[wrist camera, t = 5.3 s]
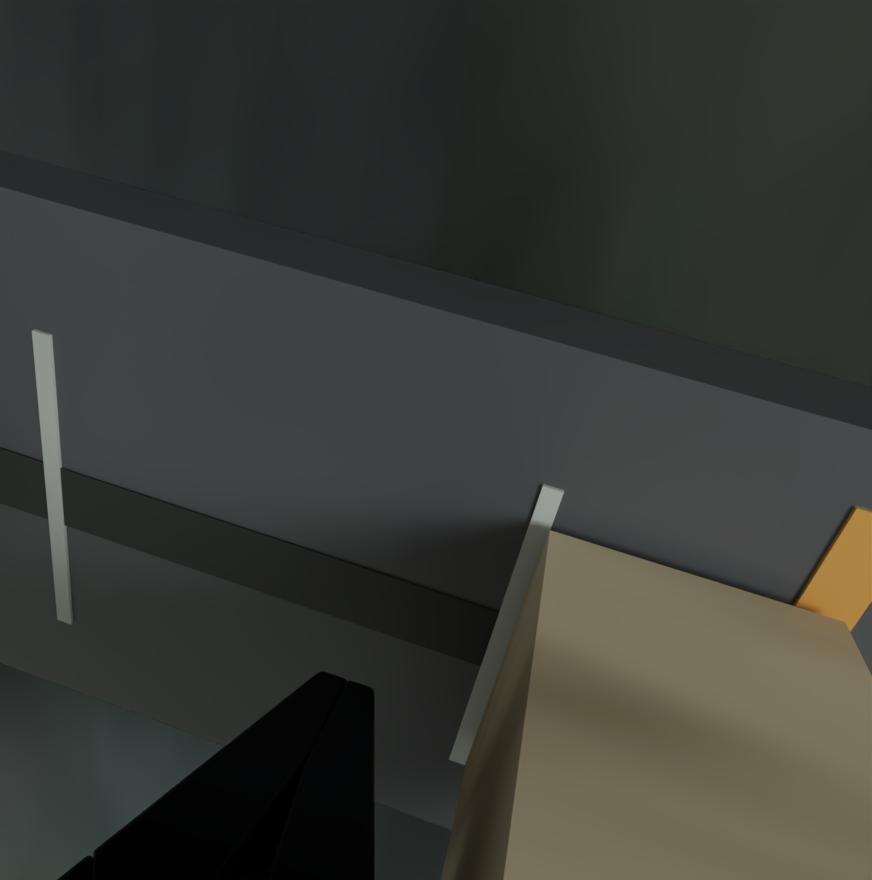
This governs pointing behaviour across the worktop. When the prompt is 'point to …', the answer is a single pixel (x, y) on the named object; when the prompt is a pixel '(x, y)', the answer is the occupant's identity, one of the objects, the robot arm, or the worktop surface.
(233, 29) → the worktop surface
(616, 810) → the fader knob
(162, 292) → the fader console
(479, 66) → the worktop surface
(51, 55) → the worktop surface
